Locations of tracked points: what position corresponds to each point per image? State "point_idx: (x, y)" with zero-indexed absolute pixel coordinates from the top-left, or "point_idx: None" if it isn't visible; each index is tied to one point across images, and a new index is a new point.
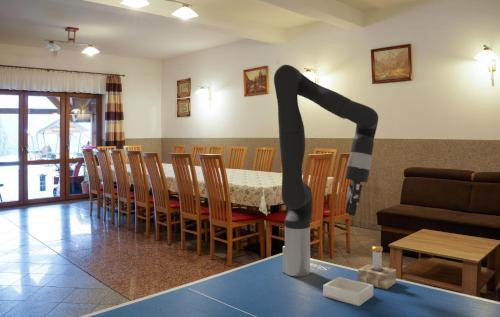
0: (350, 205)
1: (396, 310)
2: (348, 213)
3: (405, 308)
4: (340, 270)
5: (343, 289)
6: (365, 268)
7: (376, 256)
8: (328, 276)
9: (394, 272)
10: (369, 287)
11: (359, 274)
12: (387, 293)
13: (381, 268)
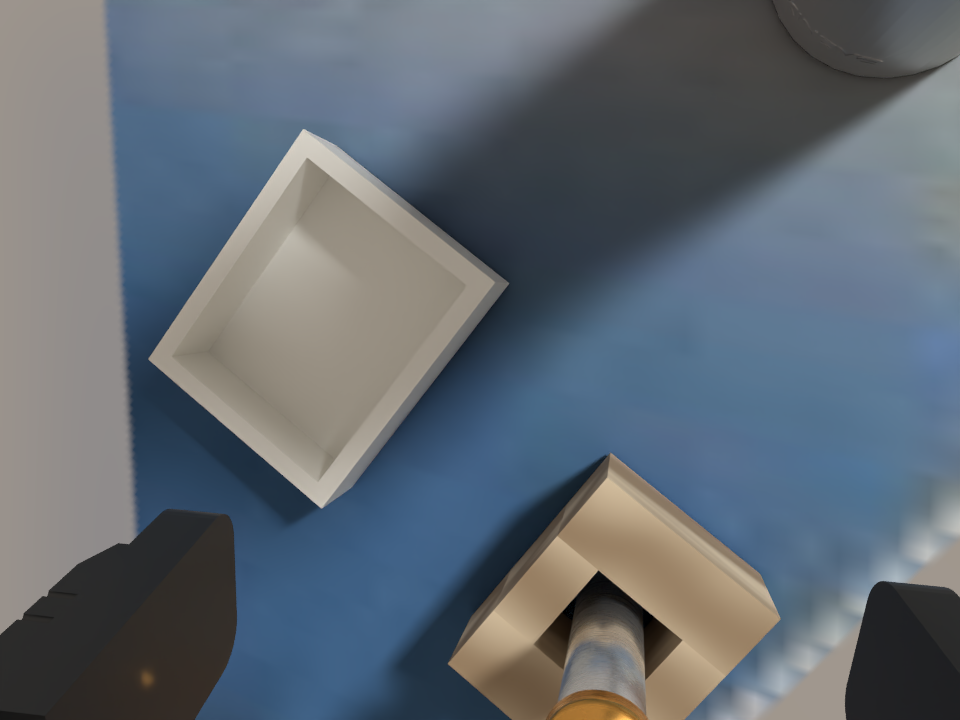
0: (16, 673)
1: None
2: (163, 511)
3: None
4: (955, 376)
5: (226, 270)
6: (637, 550)
7: (563, 690)
8: (780, 240)
9: None
10: (272, 465)
11: (599, 477)
12: (410, 597)
13: None
